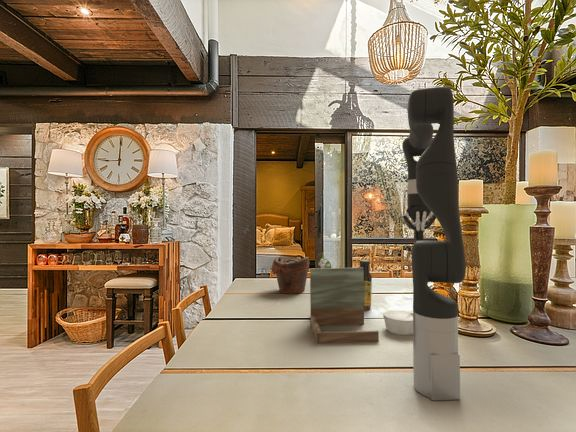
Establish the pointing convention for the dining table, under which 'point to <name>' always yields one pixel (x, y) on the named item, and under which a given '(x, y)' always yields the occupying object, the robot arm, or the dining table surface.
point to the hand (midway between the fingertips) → (418, 241)
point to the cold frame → (338, 304)
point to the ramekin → (399, 322)
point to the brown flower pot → (291, 274)
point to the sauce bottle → (367, 284)
